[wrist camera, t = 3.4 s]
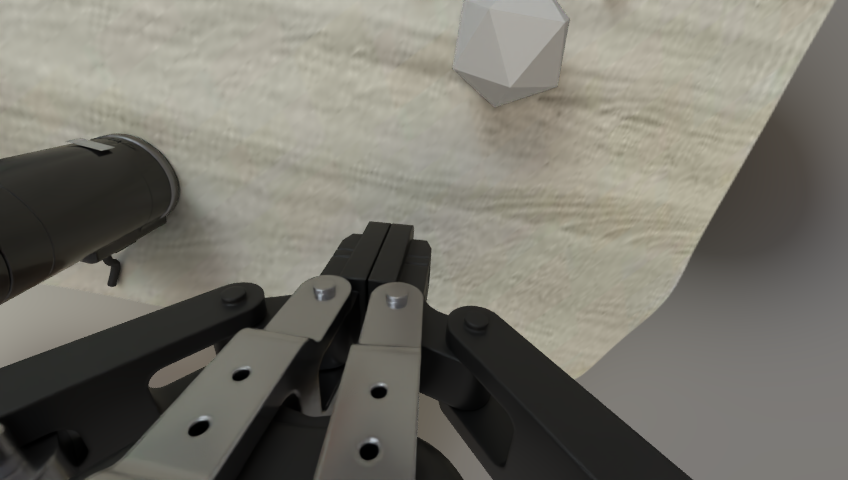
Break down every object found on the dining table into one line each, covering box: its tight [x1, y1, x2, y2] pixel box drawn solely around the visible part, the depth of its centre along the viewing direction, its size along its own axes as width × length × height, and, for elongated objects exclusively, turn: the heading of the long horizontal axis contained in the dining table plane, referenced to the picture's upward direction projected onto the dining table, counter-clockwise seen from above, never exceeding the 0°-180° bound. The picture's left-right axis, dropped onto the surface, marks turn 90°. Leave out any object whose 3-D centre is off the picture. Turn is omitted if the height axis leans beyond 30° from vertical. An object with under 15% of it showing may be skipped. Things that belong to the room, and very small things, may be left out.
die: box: [453, 0, 570, 107], centre depth 29 cm, size 8×9×10 cm
